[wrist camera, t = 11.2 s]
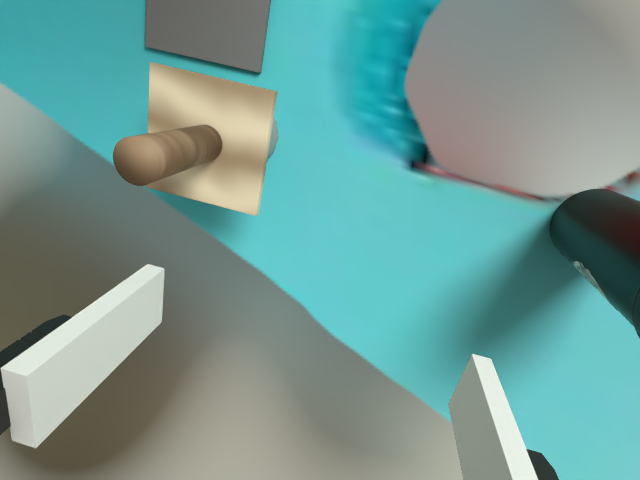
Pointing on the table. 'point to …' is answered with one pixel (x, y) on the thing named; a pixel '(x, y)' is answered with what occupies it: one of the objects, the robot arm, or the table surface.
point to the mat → (210, 30)
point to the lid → (201, 139)
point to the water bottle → (603, 245)
